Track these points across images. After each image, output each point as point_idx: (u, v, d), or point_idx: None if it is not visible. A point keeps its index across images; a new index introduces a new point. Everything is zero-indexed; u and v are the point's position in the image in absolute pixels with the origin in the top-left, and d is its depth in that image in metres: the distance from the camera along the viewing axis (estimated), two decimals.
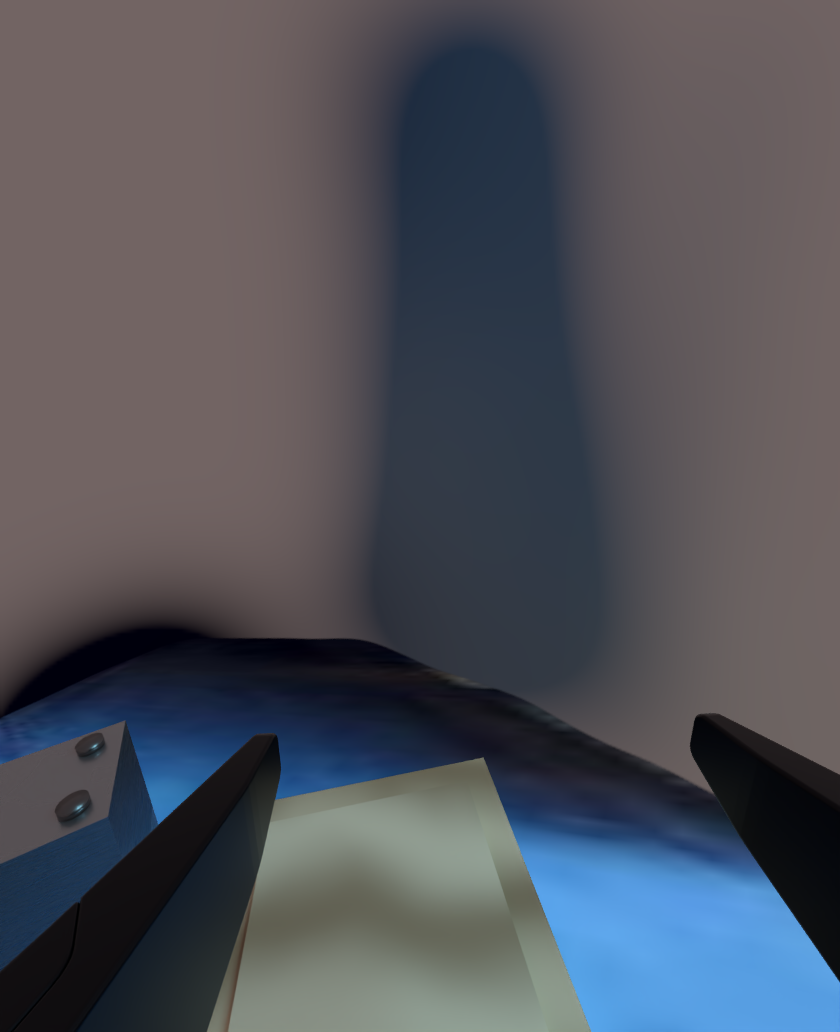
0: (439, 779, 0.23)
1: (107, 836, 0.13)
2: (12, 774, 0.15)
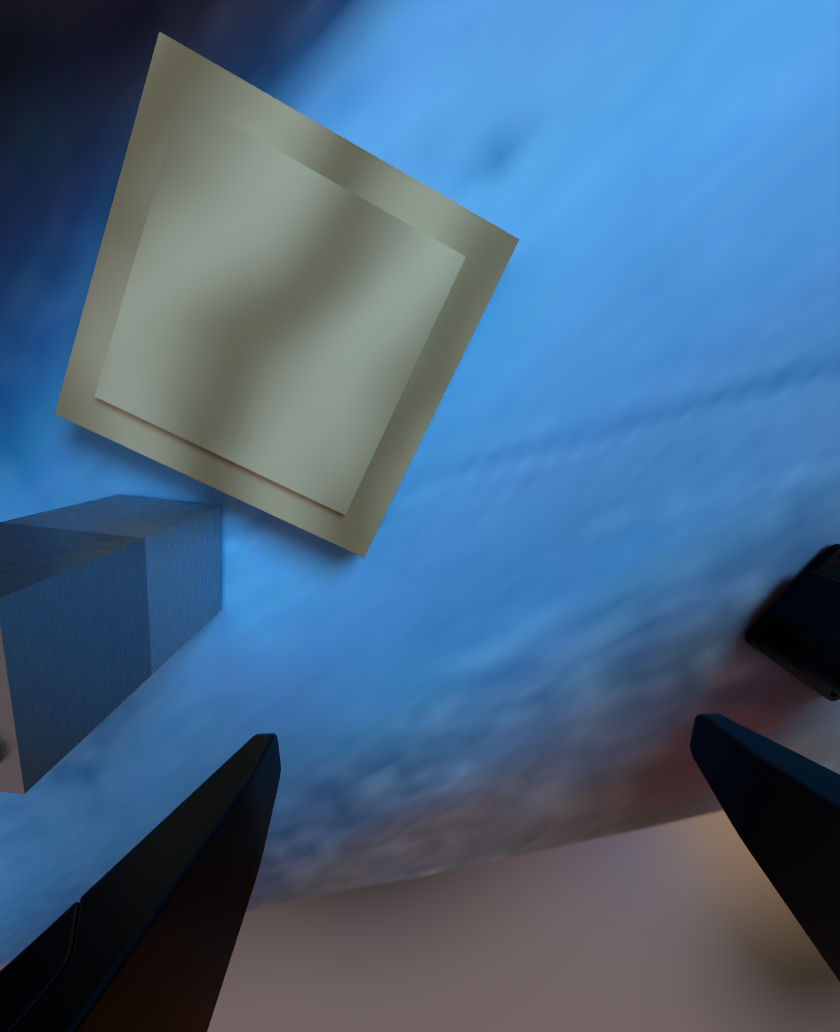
0: (155, 137, 0.14)
1: (29, 593, 0.10)
2: None
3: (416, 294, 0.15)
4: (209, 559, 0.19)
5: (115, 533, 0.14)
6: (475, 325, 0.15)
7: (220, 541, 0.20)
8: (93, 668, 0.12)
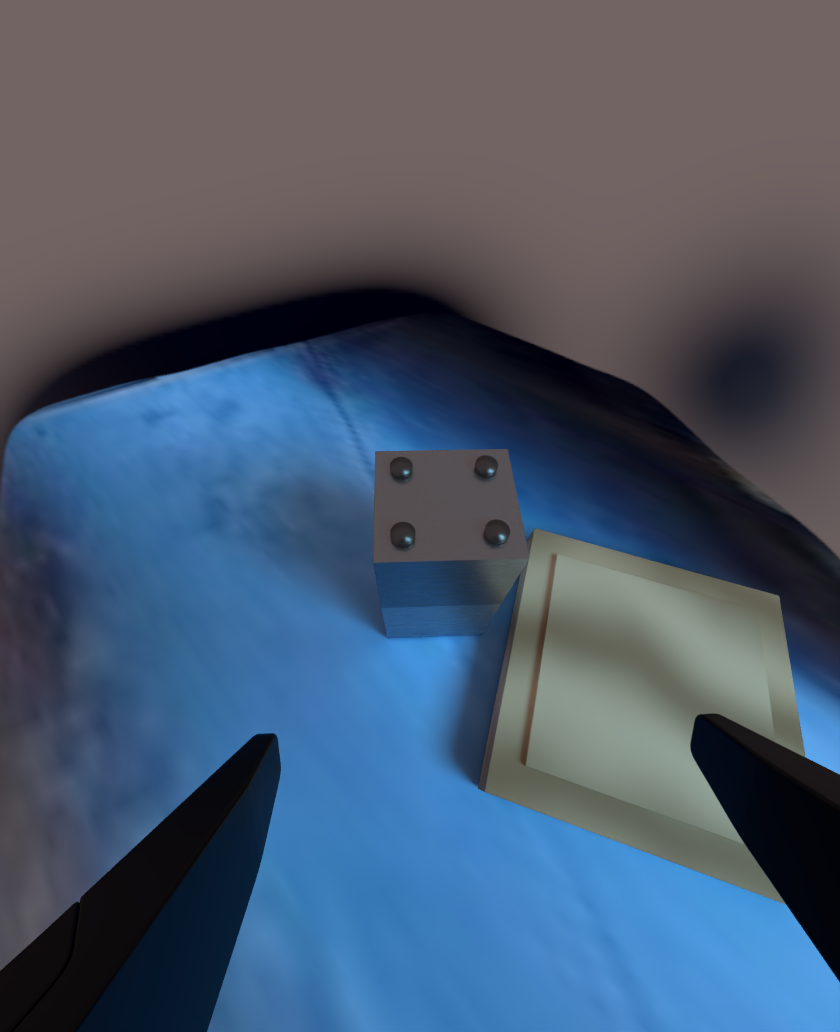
0: (725, 593, 0.23)
1: (518, 567, 0.15)
2: (425, 467, 0.16)
3: None
4: (443, 630, 0.22)
5: None
6: (741, 886, 0.16)
7: (451, 635, 0.23)
8: (428, 586, 0.16)
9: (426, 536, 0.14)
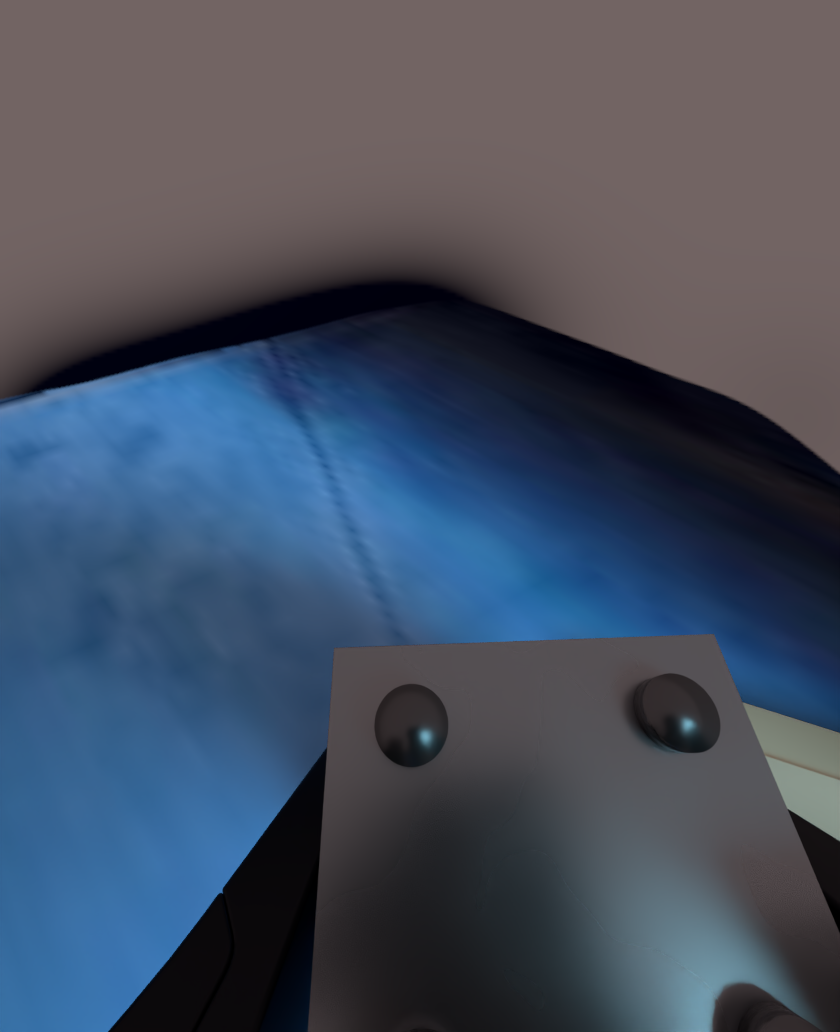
0: None
1: None
2: (485, 712, 0.05)
3: None
4: None
5: None
6: None
7: None
8: None
9: None
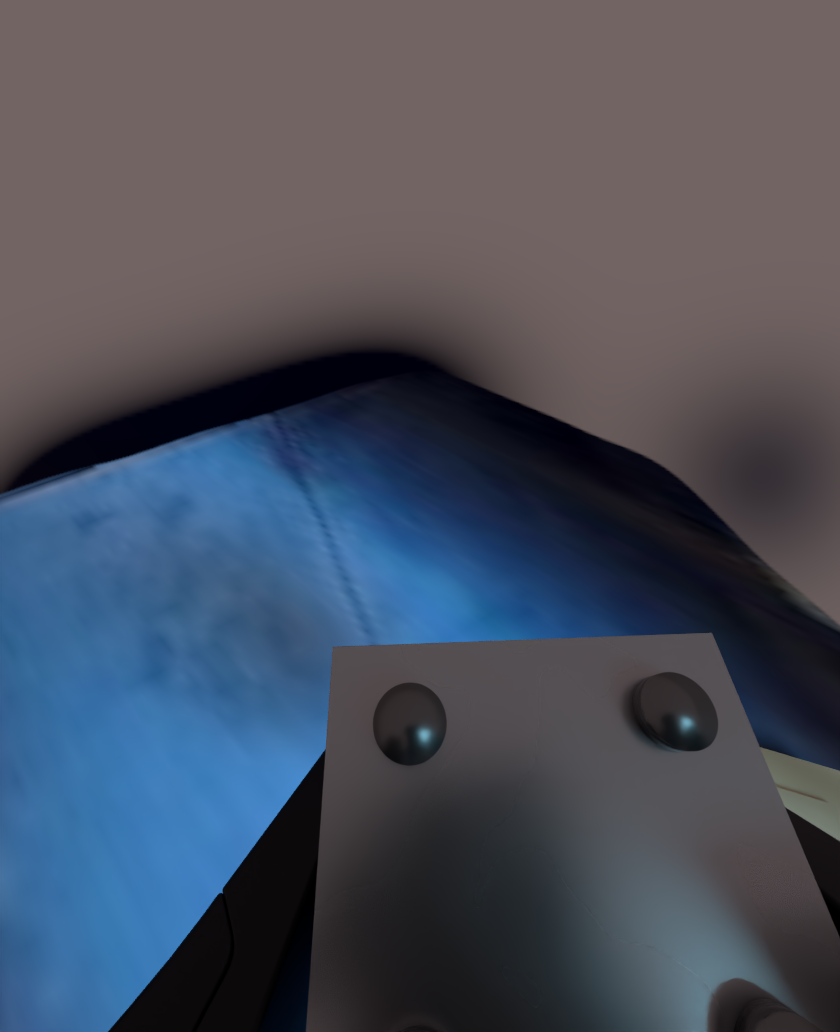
0: (791, 775, 0.18)
1: None
2: (484, 710, 0.05)
3: None
4: None
5: None
6: None
7: None
8: None
9: None
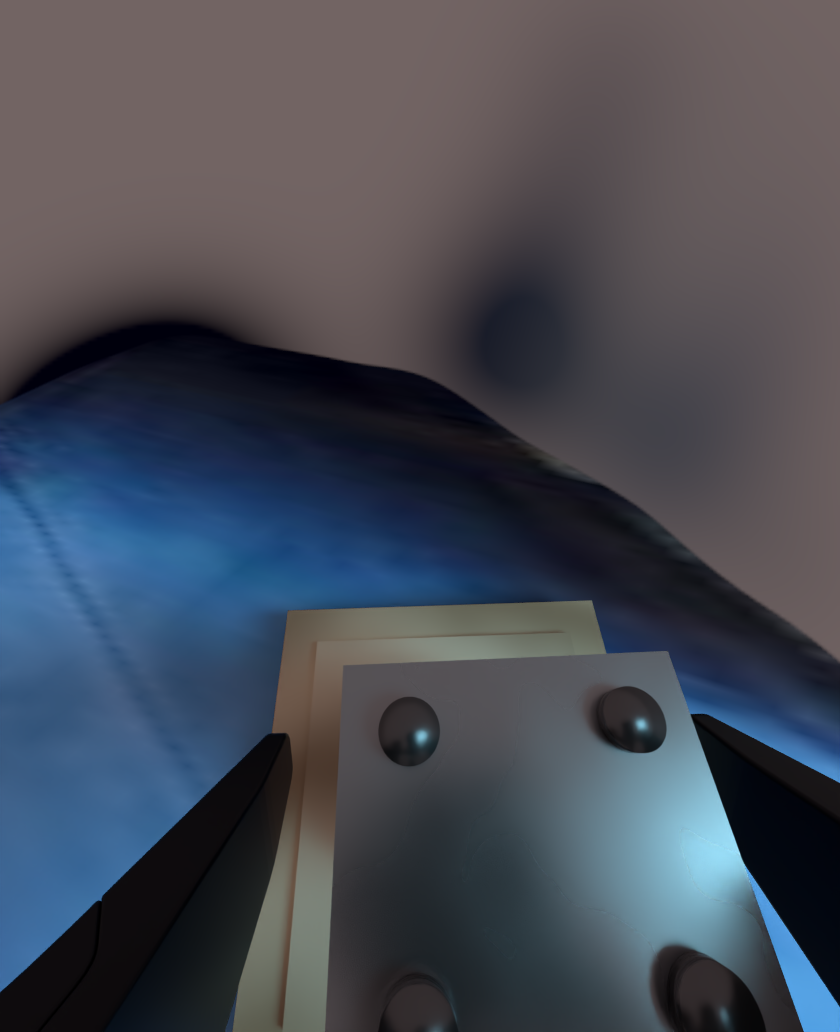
0: (532, 619, 0.18)
1: None
2: (472, 719, 0.06)
3: None
4: None
5: None
6: None
7: None
8: None
9: (489, 1026, 0.05)
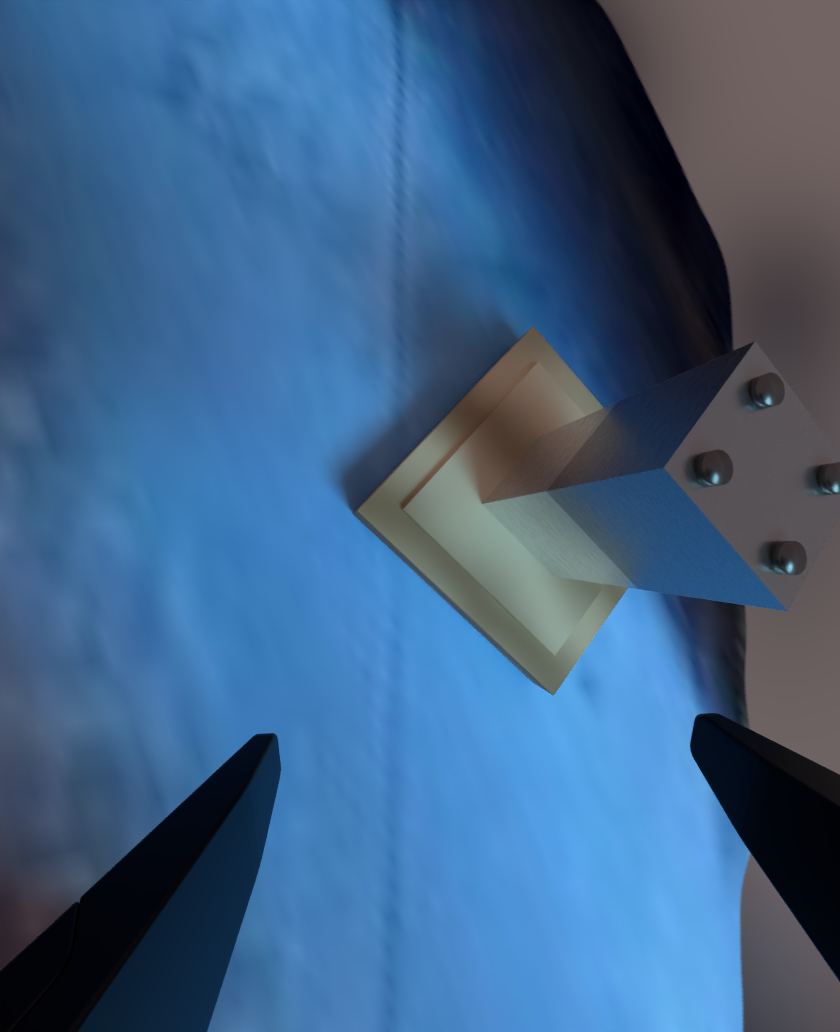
0: None
1: (752, 602, 0.11)
2: (782, 416, 0.11)
3: (542, 615, 0.20)
4: (536, 546, 0.19)
5: None
6: (511, 654, 0.20)
7: (532, 553, 0.20)
8: (636, 526, 0.12)
9: (726, 492, 0.10)
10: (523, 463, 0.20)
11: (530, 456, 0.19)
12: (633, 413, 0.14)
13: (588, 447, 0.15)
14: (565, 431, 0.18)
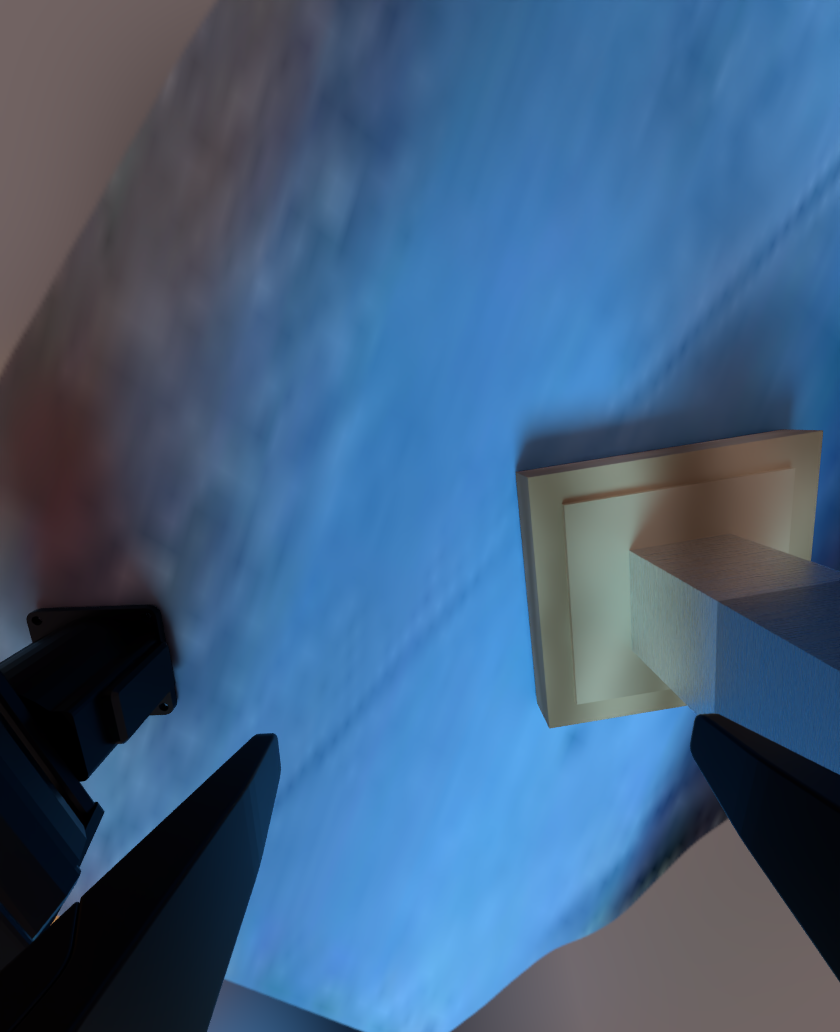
0: None
1: None
2: None
3: (595, 669, 0.21)
4: (644, 620, 0.19)
5: None
6: (545, 675, 0.21)
7: (632, 620, 0.20)
8: (783, 702, 0.12)
9: None
10: (697, 547, 0.18)
11: (710, 547, 0.18)
12: None
13: (793, 597, 0.13)
14: (768, 555, 0.16)
